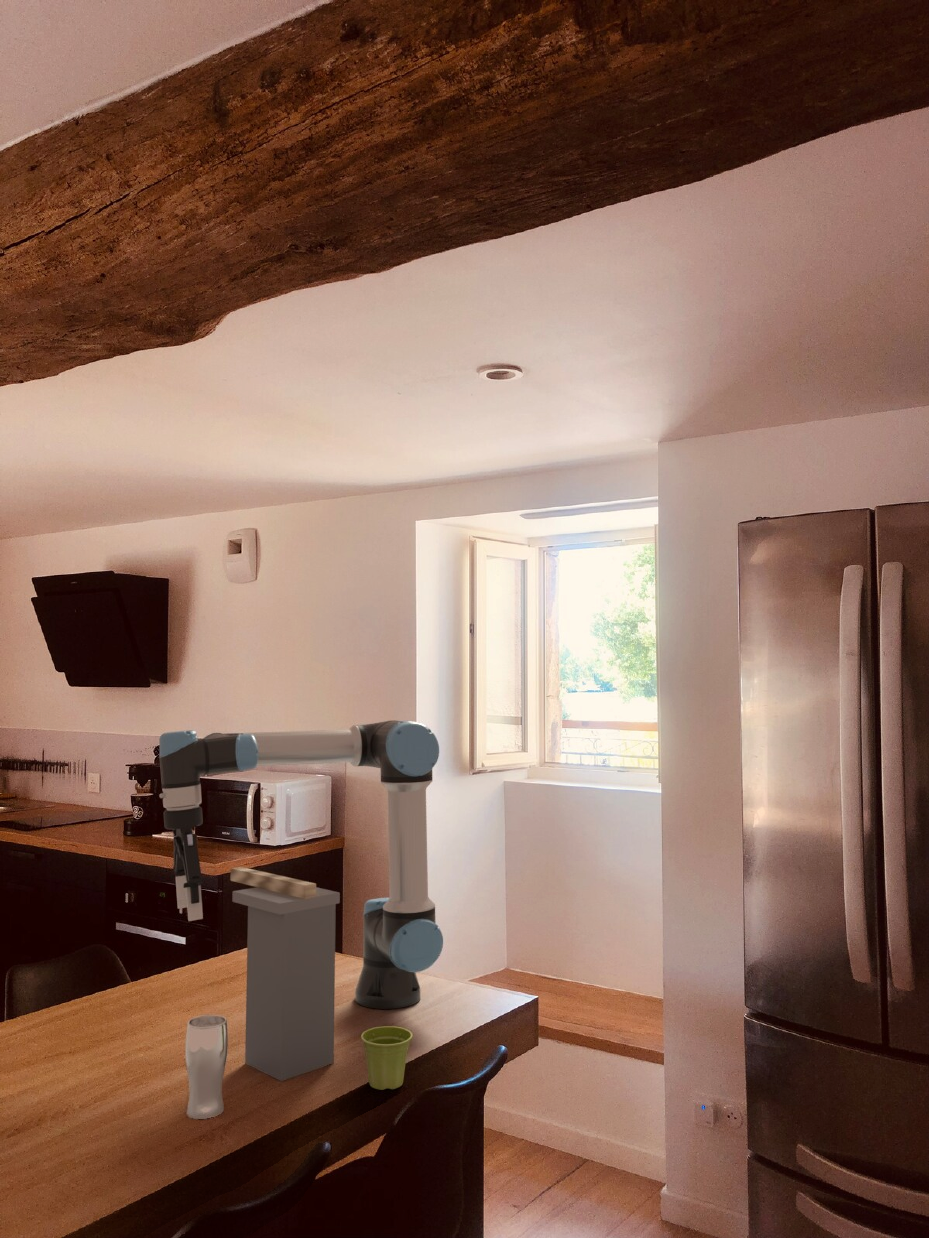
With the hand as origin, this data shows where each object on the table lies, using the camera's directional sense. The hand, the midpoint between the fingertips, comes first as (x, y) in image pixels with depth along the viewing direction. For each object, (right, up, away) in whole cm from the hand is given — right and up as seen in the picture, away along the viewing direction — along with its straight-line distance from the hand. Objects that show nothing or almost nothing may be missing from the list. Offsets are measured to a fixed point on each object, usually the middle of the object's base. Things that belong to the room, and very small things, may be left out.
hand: (189, 913), depth 194 cm
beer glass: (+11, -24, -31) cm, 41 cm away
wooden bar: (+17, +6, -2) cm, 18 cm away
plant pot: (+41, -25, -19) cm, 52 cm away
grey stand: (+20, -26, -8) cm, 34 cm away
